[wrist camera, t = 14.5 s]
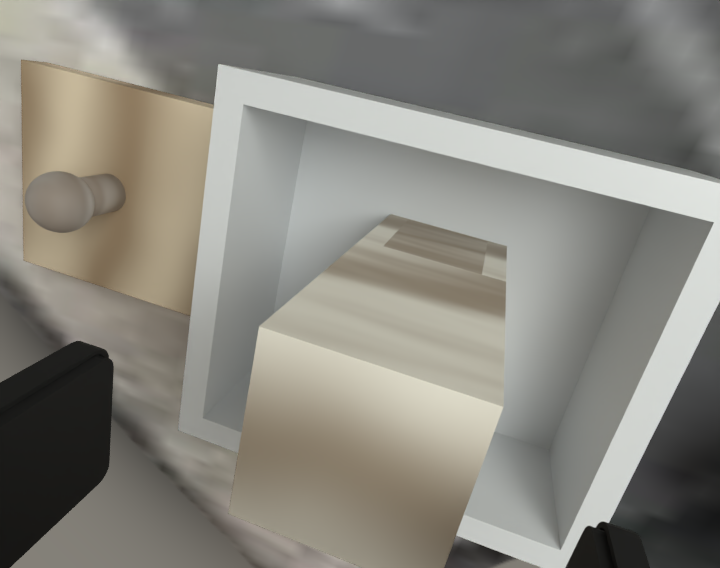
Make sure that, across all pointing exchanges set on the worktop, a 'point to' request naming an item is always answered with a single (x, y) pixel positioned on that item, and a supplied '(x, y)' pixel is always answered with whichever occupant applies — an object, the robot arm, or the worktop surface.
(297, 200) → the bin
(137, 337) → the worktop surface
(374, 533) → the strut
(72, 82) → the square lid with knob
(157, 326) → the worktop surface
